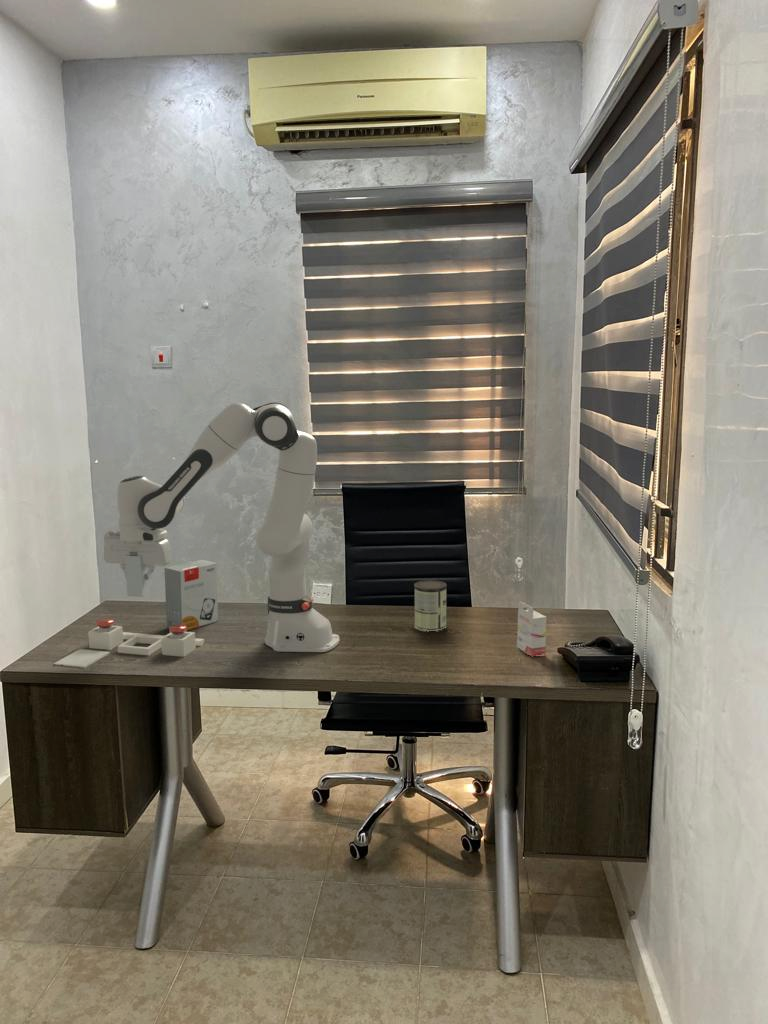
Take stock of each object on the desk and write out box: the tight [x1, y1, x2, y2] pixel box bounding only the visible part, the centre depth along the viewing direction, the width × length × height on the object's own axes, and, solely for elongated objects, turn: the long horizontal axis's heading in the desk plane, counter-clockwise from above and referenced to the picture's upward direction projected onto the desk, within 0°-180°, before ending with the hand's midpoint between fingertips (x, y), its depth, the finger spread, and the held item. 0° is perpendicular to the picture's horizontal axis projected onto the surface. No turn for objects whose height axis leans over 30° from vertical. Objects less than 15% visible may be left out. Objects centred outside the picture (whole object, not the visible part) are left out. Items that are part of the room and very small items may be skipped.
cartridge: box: [125, 552, 153, 598], centre depth 235 cm, size 5×5×13 cm
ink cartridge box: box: [516, 600, 548, 656], centre depth 233 cm, size 9×5×15 cm, turn 21°
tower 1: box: [87, 625, 124, 651], centre depth 241 cm, size 7×7×5 cm
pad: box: [53, 648, 111, 669], centre depth 230 cm, size 10×12×1 cm
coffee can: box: [413, 579, 448, 633], centre depth 256 cm, size 10×10×14 cm
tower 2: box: [161, 631, 197, 658], centre depth 235 cm, size 7×7×5 cm
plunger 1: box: [95, 617, 115, 632], centre depth 241 cm, size 5×5×7 cm
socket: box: [117, 631, 205, 656], centre depth 240 cm, size 32×13×2 cm, turn 76°
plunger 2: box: [168, 624, 188, 639], centre depth 235 cm, size 5×5×7 cm
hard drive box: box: [164, 559, 219, 631], centre depth 259 cm, size 16×8×20 cm, turn 143°
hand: (138, 578), depth 235 cm, fingers closed on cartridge, 5 cm apart
